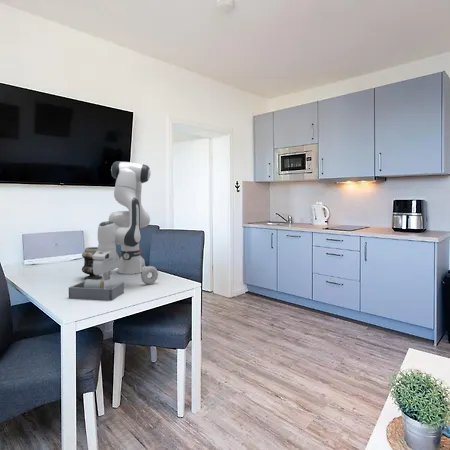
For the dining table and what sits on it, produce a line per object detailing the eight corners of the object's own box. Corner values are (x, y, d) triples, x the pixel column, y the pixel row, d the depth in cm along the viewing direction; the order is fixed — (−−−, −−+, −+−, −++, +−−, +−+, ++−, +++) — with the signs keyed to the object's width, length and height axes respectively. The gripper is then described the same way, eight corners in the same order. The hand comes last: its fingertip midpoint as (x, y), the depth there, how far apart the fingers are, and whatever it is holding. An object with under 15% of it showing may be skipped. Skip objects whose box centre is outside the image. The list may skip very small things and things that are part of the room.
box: (84, 290, 164) (84, 280, 164) (123, 292, 161) (123, 282, 161) (68, 298, 151) (68, 287, 151) (111, 300, 148) (111, 289, 148)
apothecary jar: (96, 281, 183) (95, 249, 182) (77, 280, 185) (76, 248, 184) (108, 276, 195) (107, 246, 193) (90, 275, 197) (89, 246, 196)
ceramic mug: (101, 296, 154) (101, 280, 154) (83, 297, 153) (83, 281, 152) (106, 291, 165) (106, 276, 164) (89, 291, 163) (89, 276, 163)
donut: (142, 286, 173) (142, 267, 173) (139, 285, 176) (139, 266, 175) (159, 283, 180) (159, 265, 179) (156, 282, 183) (156, 264, 182)
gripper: (111, 249, 177) (111, 274, 178) (90, 256, 157) (90, 284, 158) (122, 250, 176) (122, 275, 177) (102, 257, 156) (102, 285, 157)
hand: (107, 279), depth 168 cm, fingers closed
